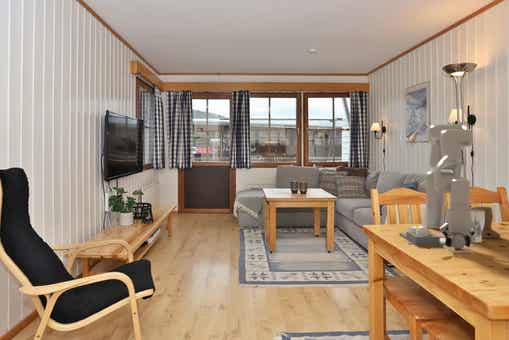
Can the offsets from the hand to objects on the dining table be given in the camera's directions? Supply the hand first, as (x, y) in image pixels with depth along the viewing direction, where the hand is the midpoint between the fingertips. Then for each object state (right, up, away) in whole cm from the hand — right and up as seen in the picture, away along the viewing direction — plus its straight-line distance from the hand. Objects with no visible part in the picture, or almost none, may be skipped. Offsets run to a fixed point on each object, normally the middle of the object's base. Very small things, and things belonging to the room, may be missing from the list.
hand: (457, 245), depth 169 cm
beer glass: (+15, -1, +13) cm, 20 cm away
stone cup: (+27, 0, +25) cm, 36 cm away
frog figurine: (0, -2, 0) cm, 2 cm away
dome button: (-11, +1, +11) cm, 16 cm away
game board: (-6, -1, +11) cm, 12 cm away
